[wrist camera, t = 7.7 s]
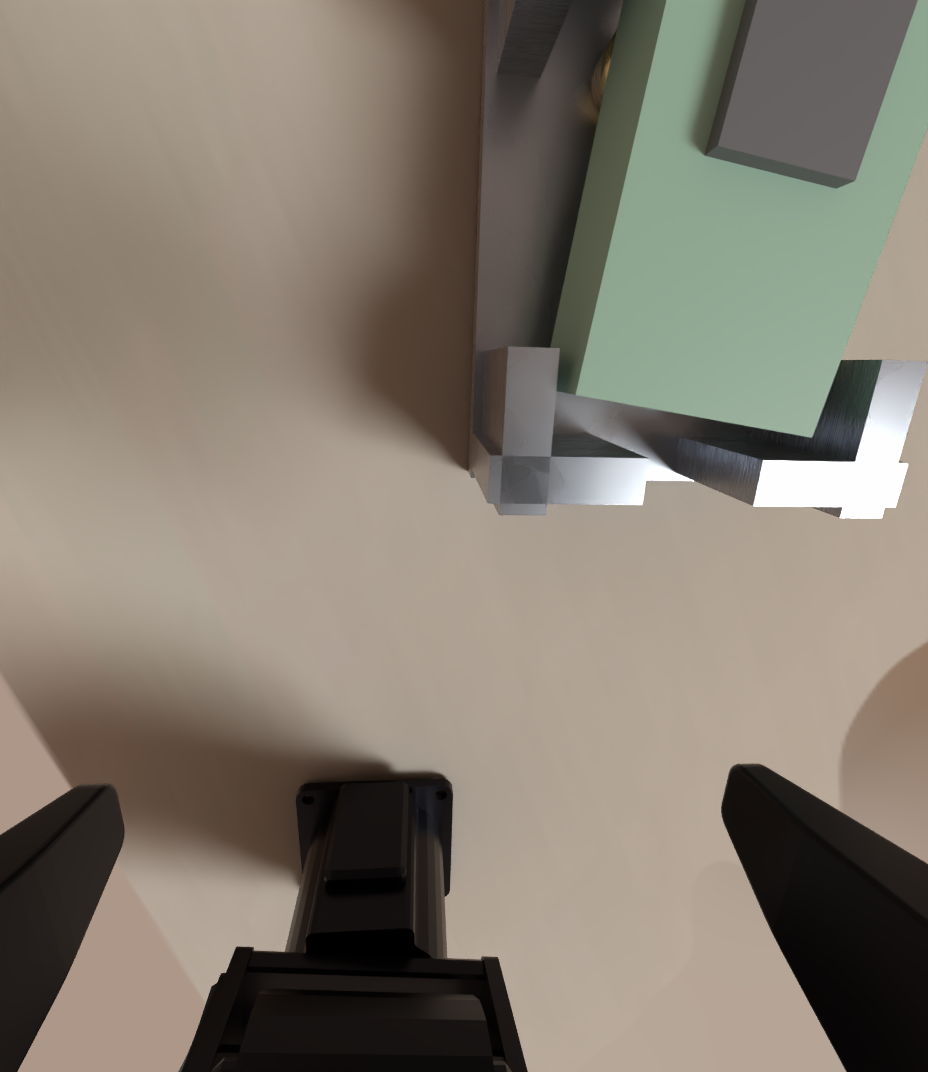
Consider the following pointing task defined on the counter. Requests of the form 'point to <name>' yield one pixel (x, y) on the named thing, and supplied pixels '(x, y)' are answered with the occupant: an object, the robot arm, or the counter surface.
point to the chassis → (533, 300)
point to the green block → (739, 202)
